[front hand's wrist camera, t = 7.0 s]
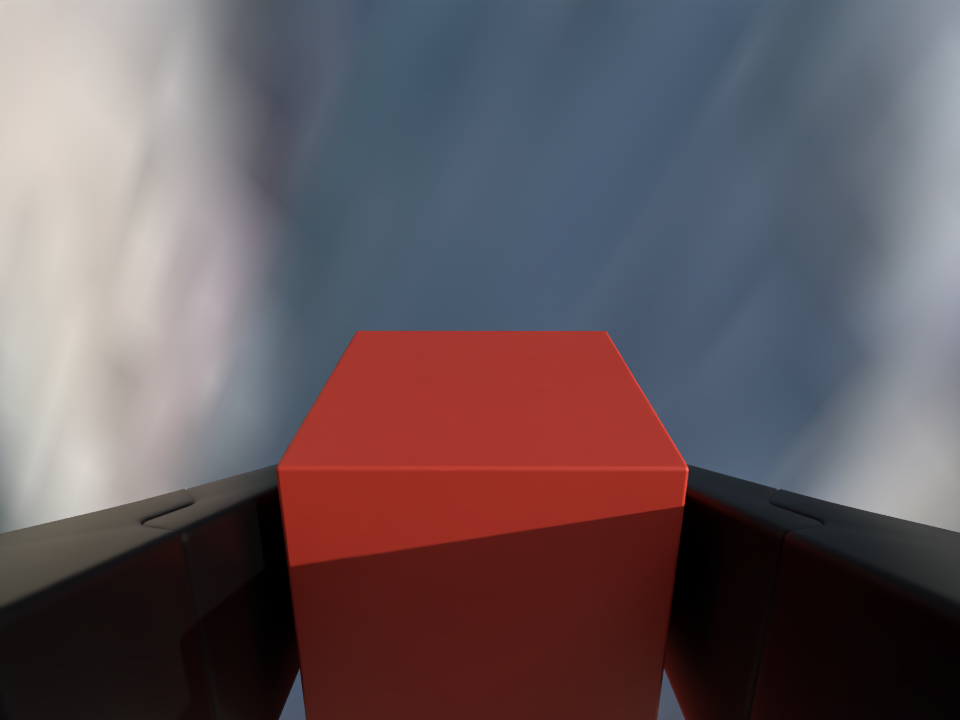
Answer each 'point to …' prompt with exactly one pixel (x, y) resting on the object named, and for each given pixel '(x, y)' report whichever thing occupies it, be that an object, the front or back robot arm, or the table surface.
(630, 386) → the brick
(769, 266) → the table surface
